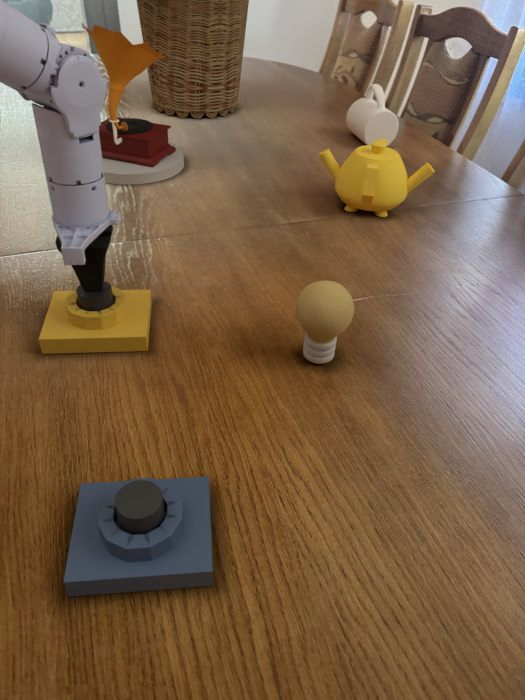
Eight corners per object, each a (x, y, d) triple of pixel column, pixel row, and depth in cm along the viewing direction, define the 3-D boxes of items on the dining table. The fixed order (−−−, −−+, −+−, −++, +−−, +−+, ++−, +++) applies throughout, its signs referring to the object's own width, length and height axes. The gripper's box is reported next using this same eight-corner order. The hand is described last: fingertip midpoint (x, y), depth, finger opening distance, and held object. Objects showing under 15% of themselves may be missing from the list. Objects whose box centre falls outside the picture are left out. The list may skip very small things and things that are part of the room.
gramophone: (154, 192, 101) (142, 35, 85) (56, 173, 105) (27, 20, 90) (200, 155, 116) (198, 16, 100) (113, 140, 121) (97, 5, 105)
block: (67, 597, 43) (58, 569, 40) (84, 498, 50) (77, 469, 47) (213, 586, 44) (212, 558, 41) (209, 491, 51) (208, 462, 48)
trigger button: (76, 313, 65) (73, 298, 64) (81, 294, 68) (78, 279, 67) (111, 312, 65) (109, 297, 64) (115, 293, 69) (113, 279, 67)
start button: (115, 536, 43) (112, 520, 42) (119, 496, 46) (117, 481, 44) (163, 532, 43) (161, 517, 42) (164, 494, 46) (163, 478, 45)
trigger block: (41, 354, 64) (34, 326, 62) (57, 305, 72) (51, 278, 70) (147, 351, 66) (145, 323, 63) (151, 303, 74) (149, 277, 71)
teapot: (426, 195, 106) (441, 134, 99) (421, 236, 92) (438, 170, 85) (322, 178, 109) (329, 119, 102) (303, 216, 96) (309, 151, 89)
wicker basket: (141, 84, 157) (129, -64, 136) (266, 92, 157) (273, -54, 136) (109, 123, 129) (89, -54, 108) (261, 132, 129) (269, -43, 108)
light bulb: (282, 345, 68) (289, 274, 62) (330, 336, 70) (341, 266, 64) (304, 379, 63) (313, 306, 57) (354, 368, 65) (368, 296, 59)
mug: (361, 150, 123) (370, 92, 116) (343, 135, 131) (351, 79, 123) (395, 148, 125) (406, 91, 118) (375, 133, 133) (385, 78, 125)
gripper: (108, 205, 52) (123, 324, 60) (121, 150, 63) (133, 256, 71) (28, 205, 51) (55, 325, 59) (56, 149, 62) (76, 257, 71)
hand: (93, 288), depth 65 cm, fingers closed
